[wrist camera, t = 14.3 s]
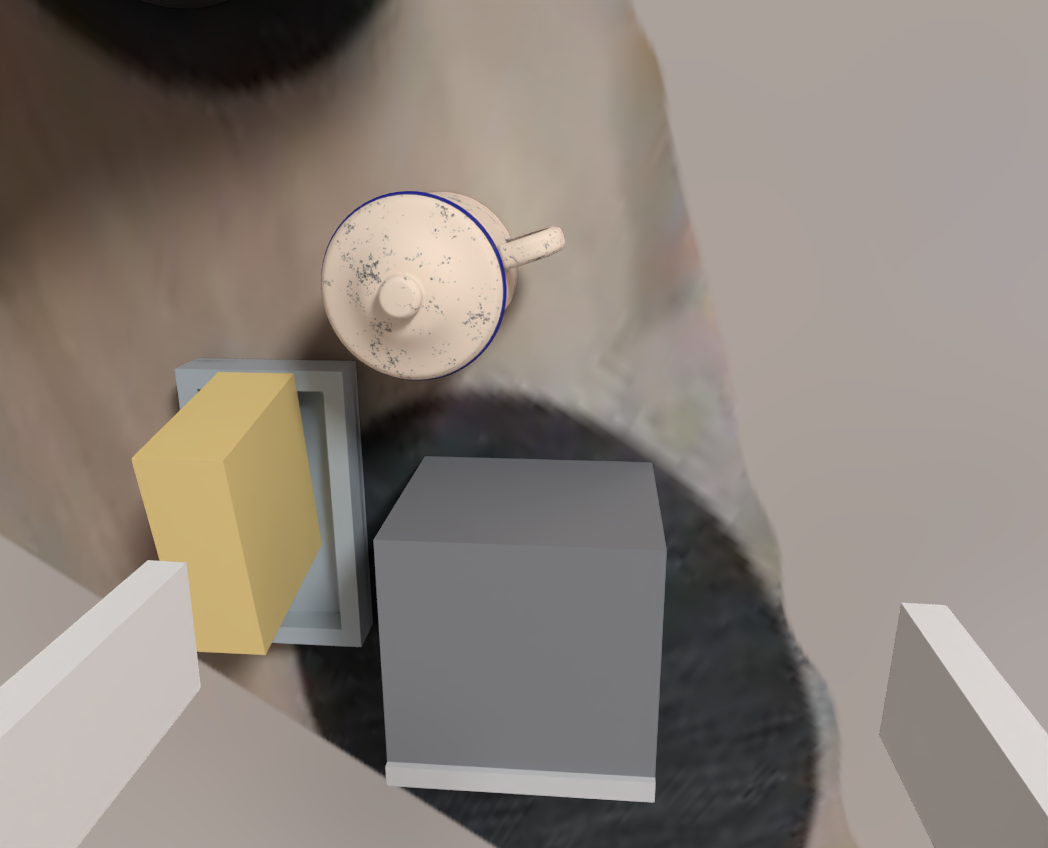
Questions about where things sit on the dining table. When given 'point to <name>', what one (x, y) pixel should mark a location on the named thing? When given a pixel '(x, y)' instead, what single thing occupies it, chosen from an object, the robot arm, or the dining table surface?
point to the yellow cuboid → (234, 506)
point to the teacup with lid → (424, 280)
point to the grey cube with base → (523, 627)
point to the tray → (319, 495)
